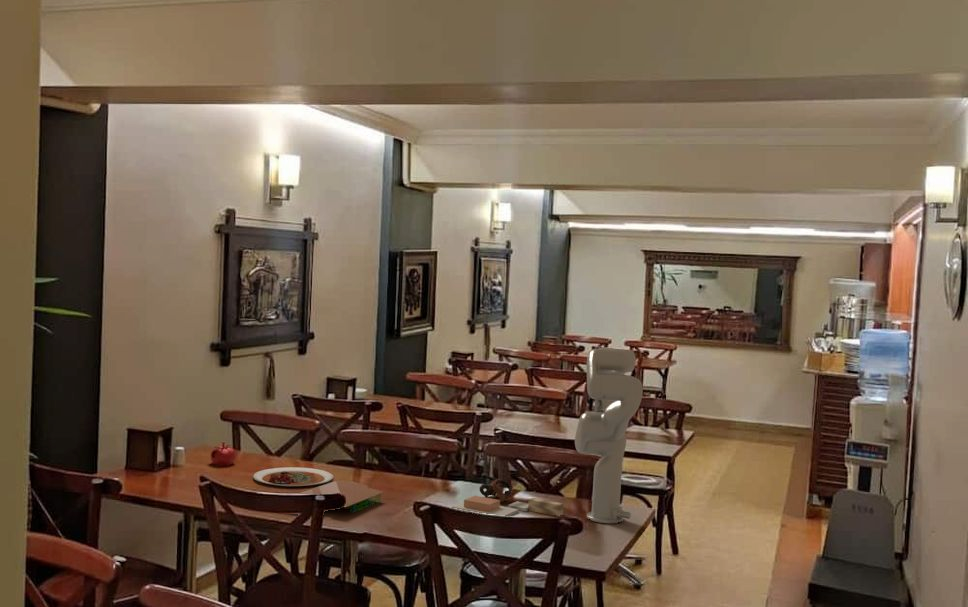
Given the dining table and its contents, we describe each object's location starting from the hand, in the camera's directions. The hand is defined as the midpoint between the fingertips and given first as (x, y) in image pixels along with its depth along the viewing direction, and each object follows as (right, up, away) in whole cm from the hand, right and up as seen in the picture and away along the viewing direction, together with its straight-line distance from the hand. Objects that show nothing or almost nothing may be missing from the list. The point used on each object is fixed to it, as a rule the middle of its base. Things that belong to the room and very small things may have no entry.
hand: (602, 427), depth 339 cm
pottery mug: (-42, -27, -2) cm, 50 cm away
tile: (-40, -24, -21) cm, 51 cm away
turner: (-25, -28, -15) cm, 40 cm away
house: (-96, -24, -19) cm, 101 cm away
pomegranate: (-149, -20, +31) cm, 154 cm away
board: (-44, -27, -19) cm, 54 cm away
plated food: (-117, -22, +13) cm, 120 cm away
